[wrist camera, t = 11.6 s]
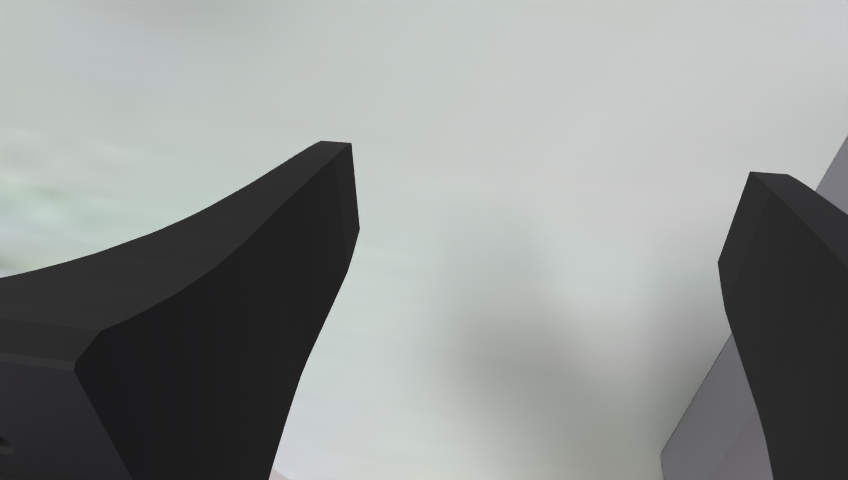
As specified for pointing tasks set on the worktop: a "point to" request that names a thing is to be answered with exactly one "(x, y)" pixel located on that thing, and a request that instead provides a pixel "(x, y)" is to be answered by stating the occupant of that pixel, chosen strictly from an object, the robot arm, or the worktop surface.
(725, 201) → the worktop surface
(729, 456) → the grey block
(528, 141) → the worktop surface
